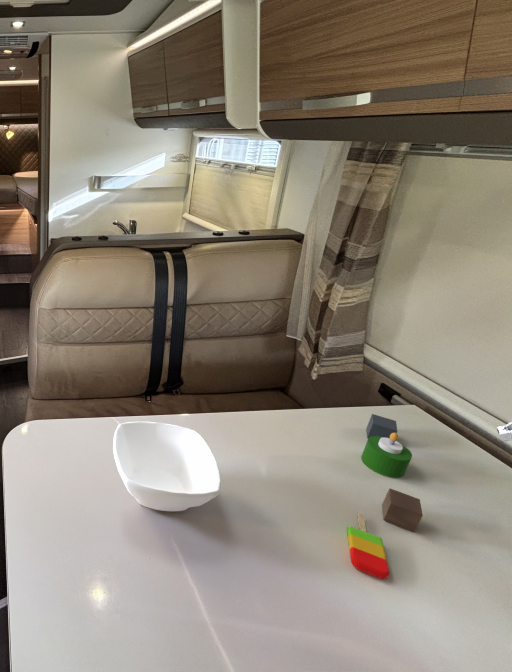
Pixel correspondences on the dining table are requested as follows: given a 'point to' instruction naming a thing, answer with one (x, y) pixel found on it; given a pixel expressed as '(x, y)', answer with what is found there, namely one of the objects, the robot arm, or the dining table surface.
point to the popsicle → (367, 551)
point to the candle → (386, 456)
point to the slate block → (381, 426)
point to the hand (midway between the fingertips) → (499, 434)
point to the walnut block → (402, 510)
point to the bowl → (165, 465)
